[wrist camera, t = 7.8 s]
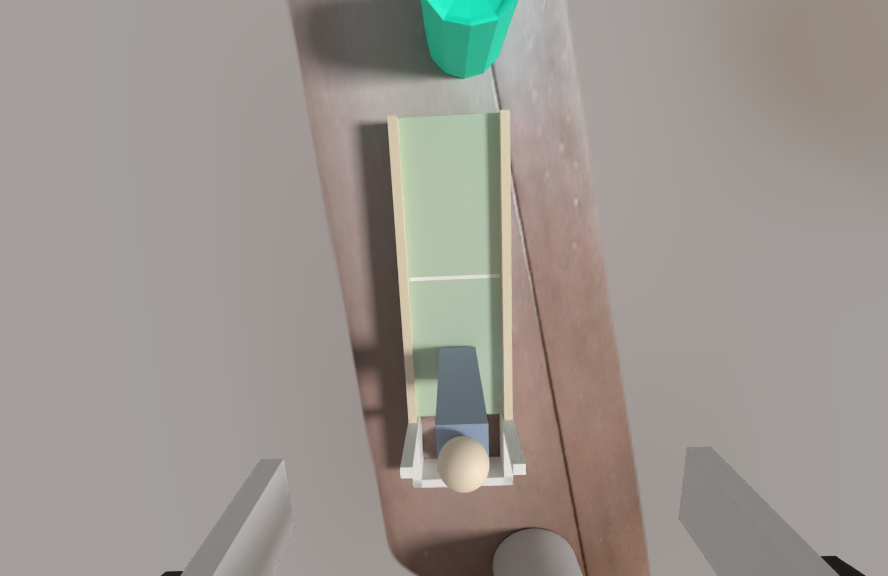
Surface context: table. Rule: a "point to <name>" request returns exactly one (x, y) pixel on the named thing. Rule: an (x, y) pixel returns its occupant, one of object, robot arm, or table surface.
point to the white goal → (426, 469)
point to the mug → (535, 555)
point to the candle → (466, 33)
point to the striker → (461, 421)
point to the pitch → (453, 250)
